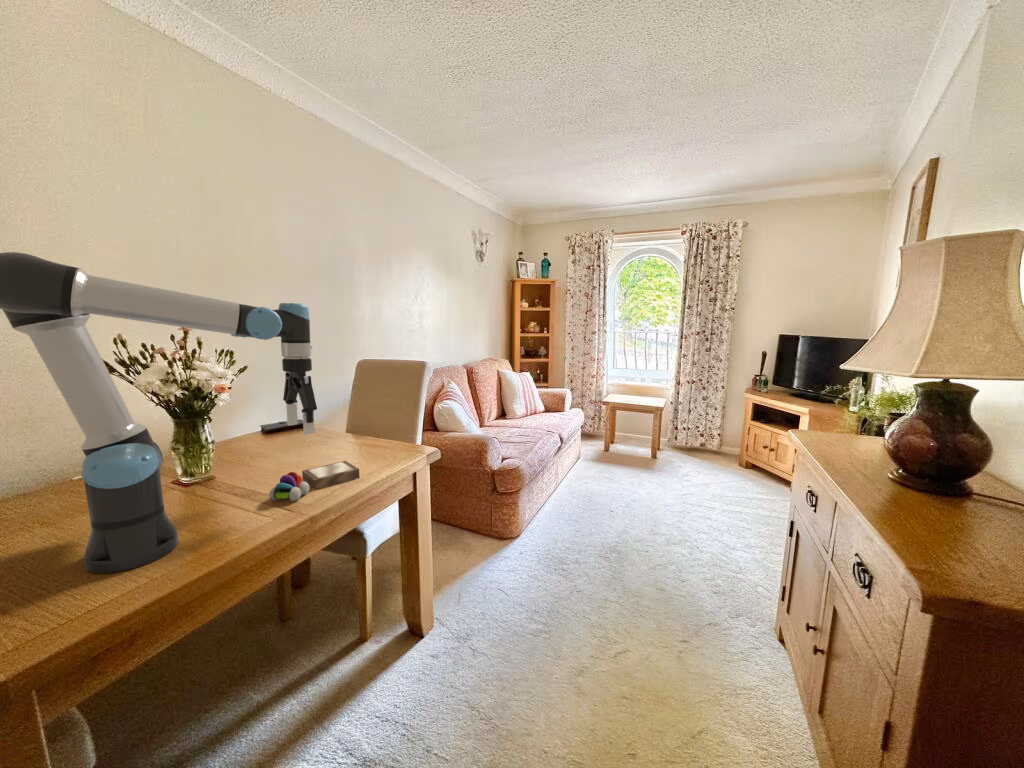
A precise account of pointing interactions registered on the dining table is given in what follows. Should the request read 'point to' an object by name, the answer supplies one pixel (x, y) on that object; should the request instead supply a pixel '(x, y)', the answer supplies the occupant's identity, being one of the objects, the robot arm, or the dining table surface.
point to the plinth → (330, 474)
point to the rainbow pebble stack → (289, 487)
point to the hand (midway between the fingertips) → (300, 429)
